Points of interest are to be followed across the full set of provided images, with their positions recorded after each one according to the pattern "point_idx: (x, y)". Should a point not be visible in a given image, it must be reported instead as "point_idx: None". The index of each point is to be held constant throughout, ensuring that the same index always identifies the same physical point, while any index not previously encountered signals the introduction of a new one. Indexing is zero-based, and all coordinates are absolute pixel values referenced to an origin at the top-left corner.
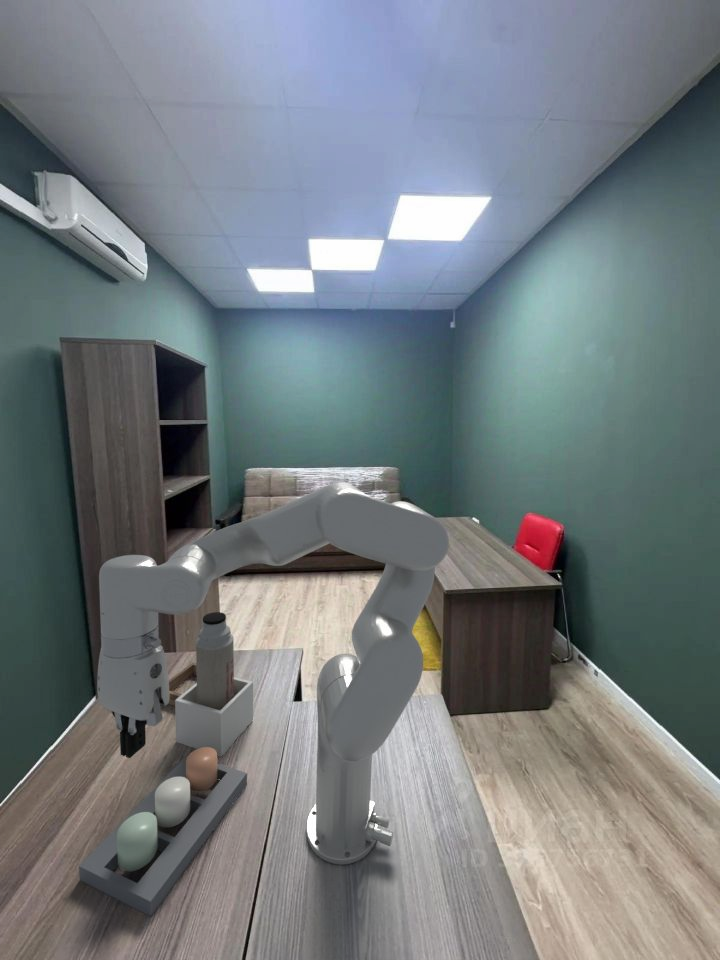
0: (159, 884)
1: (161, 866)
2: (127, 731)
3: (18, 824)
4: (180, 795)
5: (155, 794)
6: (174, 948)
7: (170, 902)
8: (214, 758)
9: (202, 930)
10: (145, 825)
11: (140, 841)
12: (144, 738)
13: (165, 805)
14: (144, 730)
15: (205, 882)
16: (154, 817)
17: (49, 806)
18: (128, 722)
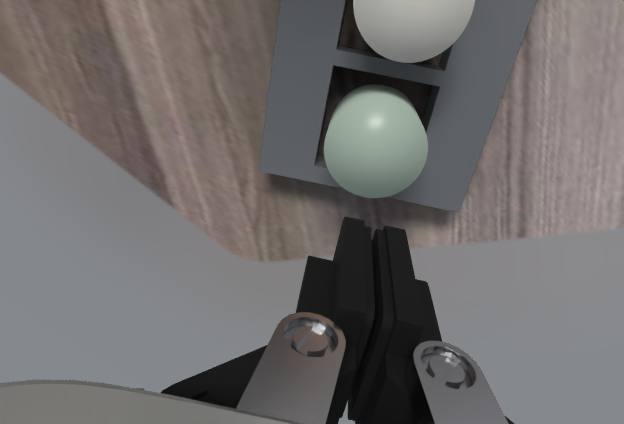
0: (461, 181)
1: (447, 146)
2: (345, 401)
3: (22, 70)
4: (454, 18)
5: (362, 32)
6: (521, 234)
7: (480, 170)
8: None
9: (567, 205)
10: (393, 139)
11: (407, 184)
12: (432, 302)
13: (416, 61)
14: (441, 339)
15: (545, 123)
16: (406, 111)
17: (35, 9)
18: (329, 422)
